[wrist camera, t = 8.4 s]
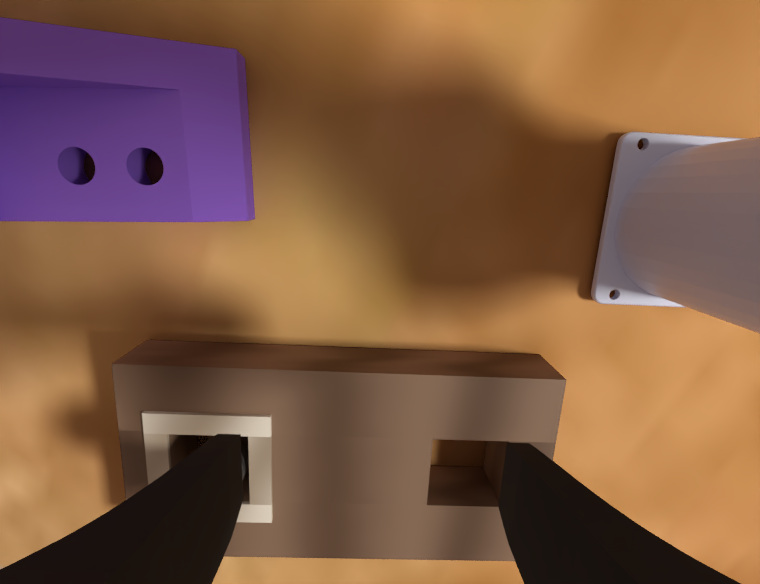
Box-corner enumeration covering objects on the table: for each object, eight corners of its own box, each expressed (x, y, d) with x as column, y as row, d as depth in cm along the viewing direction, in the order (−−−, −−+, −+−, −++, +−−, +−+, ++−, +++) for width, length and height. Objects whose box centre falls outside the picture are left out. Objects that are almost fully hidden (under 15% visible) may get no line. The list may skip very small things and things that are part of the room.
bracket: (0, 217, 20) (-189, 231, 13) (-34, 56, 18) (-272, -23, 11) (256, 218, 20) (201, 233, 13) (246, 60, 18) (177, -14, 12)
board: (539, 354, 22) (568, 381, 18) (514, 516, 24) (536, 564, 21) (147, 339, 21) (108, 365, 18) (161, 508, 23) (129, 558, 20)
